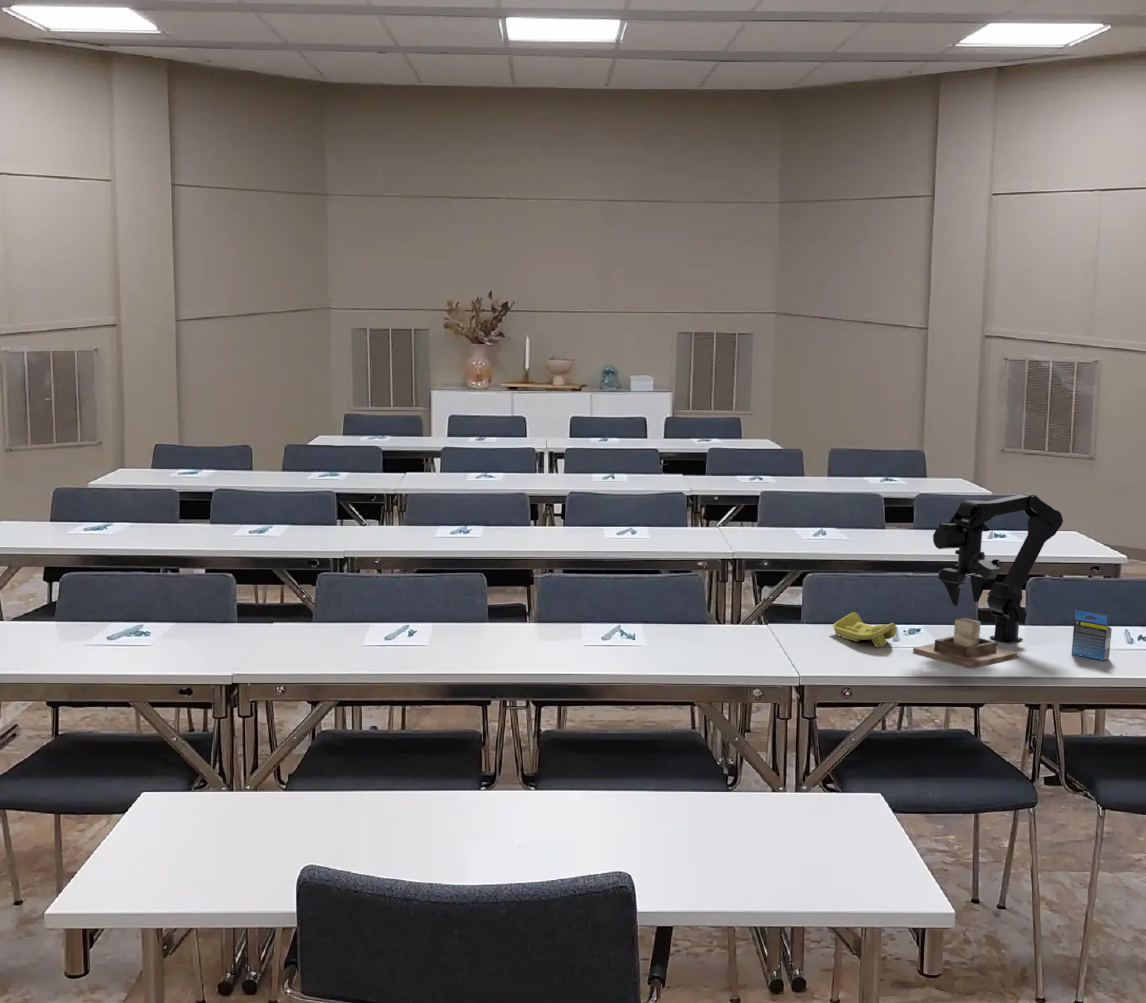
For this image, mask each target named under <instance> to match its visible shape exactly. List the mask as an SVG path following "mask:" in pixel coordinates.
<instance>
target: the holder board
mask: <svg viewBox="0 0 1146 1003" xmlns="http://www.w3.org/2000/svg"><path fill="white" fill-rule="evenodd" d="M997 646H998V642H997V641H993V640H989V639H985V638H981V637H979V645H974V646H969V647H965V646H962V645H958V644H954V635H952V636H948V637H942V638H937V639H935V640H934V643H931V644H930V643H929V644H924V645H920V646H915V647H913V650H912V652H913V653H916V654H918V655H922V656H925V657H929V658H932V659H937V660H940V661H944V662H947V663H950V664H954V665H958V666H961V667H965V668H968V669H969V668H970V669H972V668H978V667H981V666H986V665H990V664H994V663H997V662H1002V661H1007V660H1011V659H1016V658H1018V652H1015V651H1011V650H1007V649H1004V648H999V647H997Z"/></svg>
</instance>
